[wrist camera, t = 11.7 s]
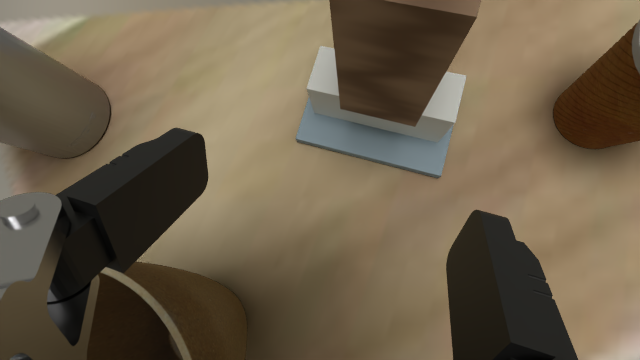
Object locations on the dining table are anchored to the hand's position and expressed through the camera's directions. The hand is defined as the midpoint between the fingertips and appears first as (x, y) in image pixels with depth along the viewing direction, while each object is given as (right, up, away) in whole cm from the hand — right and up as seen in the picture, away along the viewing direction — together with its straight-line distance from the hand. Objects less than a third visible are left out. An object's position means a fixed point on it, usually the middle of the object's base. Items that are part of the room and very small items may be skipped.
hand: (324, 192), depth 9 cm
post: (+5, +8, +15) cm, 18 cm away
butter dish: (+6, +7, +21) cm, 23 cm away
